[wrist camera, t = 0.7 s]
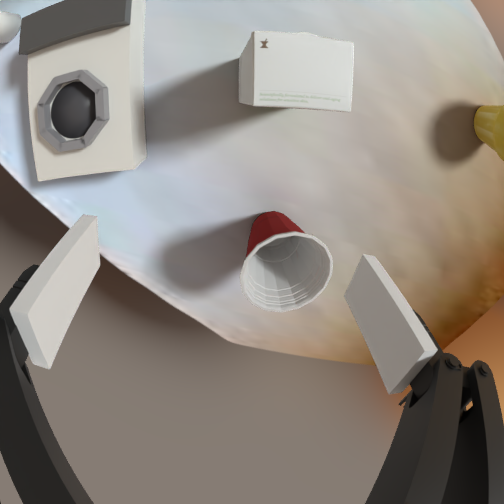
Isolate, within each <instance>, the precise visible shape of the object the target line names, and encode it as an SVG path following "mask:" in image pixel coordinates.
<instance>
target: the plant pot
mask: <svg viewBox="0 0 504 504" xmlns="http://www.w3.org/2000/svg"><path fill="white" fill-rule="evenodd" d="M474 129H475V132H476V135H477V137H478V138H479V139H480V140H481V141H483V142H484V143H486V144H487V145H488V146H489V147H491V148H492V149H493V150H495V151H496V152H497V154H498V155H499V157H500V158H501V159H502V160H503V161H504V105H503V106H481V107H480V108H479V109H478V110H477V111H476V114H475V117H474Z"/></svg>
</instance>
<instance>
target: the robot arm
mask: <svg viewBox="0 0 504 504" xmlns="http://www.w3.org/2000/svg"><path fill="white" fill-rule="evenodd" d="M99 267H100V258H99V244H98V224H97V216H92V215H84V214H83V215H82V216H81V217H80V218H79V220H78V221H77V222H76V223H75V224H74V225H73V226H72V227H71V229H70V230H69V231H68V232H67V233H66V234H65V235H64V237H63V238H62V239H61V240H60V242H59V243H58V244H57V245H56V246H55V248H54V249H53V250H52V251H51V252H50V254H49V255H48V256H47V257H46V259H45V260H44V261H43V263H42V264H41V265H40V266H38V265H32V266H31V267H29V268H28V269H26V270H25V271H24V272H23V273H22V274H21V276H20V277H19V278H18V281H16V282H15V284H14V285H13V288H11V289H10V291H9V292H8V294H7V295H6V296H5V298H4V299H3V300H2V302H1V303H0V451H1V454H2V456H3V459H4V462H5V464H6V467H7V469H8V472H9V474H10V476H11V479H12V481H13V483H14V485H15V487H16V490H17V492H18V494H19V496H20V498H21V500H22V502H23V504H94V503H93V502H92V501H91V499H90V497H89V496H88V494H87V493H86V491H85V490H84V488H83V487H82V485H81V483H80V482H79V480H78V479H77V477H76V475H75V473H74V472H73V470H72V468H71V466H70V465H69V463H68V461H67V459H66V457H65V456H64V454H63V452H62V450H61V448H60V446H59V444H58V442H57V440H56V438H55V436H54V434H53V431H52V429H51V427H50V425H49V423H48V421H47V418H46V416H45V413H44V411H43V409H42V406H41V404H40V402H39V399H38V396H37V393H36V391H35V388H34V385H33V382H32V380H31V377H30V374H29V370H28V367H27V365H26V363H25V361H26V359H27V356H28V354H29V356H30V358H31V360H32V362H33V364H35V365H38V366H41V367H44V368H47V369H50V368H51V365H52V363H53V361H54V358H55V356H56V354H57V351H58V349H59V346H60V344H61V342H62V340H63V338H64V335H65V333H66V331H67V329H68V327H69V325H70V322H71V320H72V318H73V316H74V314H75V312H76V310H77V308H78V306H79V304H80V302H81V300H82V298H83V296H84V294H85V292H86V290H87V289H88V287H89V285H90V283H91V281H92V279H93V277H94V276H95V274H96V272H97V270H98V268H99ZM344 297H345V299H346V301H347V303H348V305H349V307H350V309H351V311H352V313H353V315H354V317H355V320H356V322H357V324H358V326H359V328H360V330H361V332H362V335H363V337H364V339H365V341H366V343H367V345H368V348H369V350H370V352H371V354H372V357H373V359H374V361H375V363H376V366H377V368H378V370H379V373H380V375H381V377H382V379H383V382H384V384H385V387H386V389H387V391H388V394H394V393H400V392H403V391H404V389H405V388H406V387H407V386H408V385H409V384H410V385H411V387H412V390H411V391H410V392H409V393H408V394H407V396H405V397H404V399H403V400H402V401H401V402H400V403H399V405H400V406H401V405H402V404H403V403H404V402H406V403H405V406H404V410H403V413H402V416H401V419H400V422H399V425H398V428H397V431H396V433H395V436H394V439H393V442H392V444H391V447H390V450H389V452H388V454H387V457H386V460H385V462H384V464H383V467H382V469H381V471H380V473H379V476H378V478H377V480H376V482H375V484H374V487H373V489H372V491H371V493H370V495H369V497H368V499H367V501H366V503H365V504H504V424H503V419H502V413H501V408H500V403H499V399H498V394H497V390H496V386H495V382H494V378H493V374H492V372H491V369H490V368H489V366H488V365H487V364H486V363H485V362H482V361H479V360H477V361H475V362H474V363H473V364H472V366H471V367H470V368H469V367H464V366H462V364H461V362H460V361H459V360H458V359H457V357H455V356H454V355H452V354H449V353H443V351H442V350H441V348H440V346H439V345H438V343H437V341H436V340H435V338H434V337H433V335H432V334H431V332H429V331H430V330H429V329H428V327H427V326H425V325H426V324H425V323H424V321H423V320H422V318H421V317H420V316H419V315H418V314H417V313H416V312H415V311H414V310H413V309H412V308H411V307H410V305H409V304H408V302H407V301H406V299H405V298H404V296H403V295H402V294H401V292H400V291H399V289H398V288H397V286H396V285H395V283H394V282H393V281H392V279H391V278H390V276H389V275H388V274H387V272H386V271H385V269H384V268H383V267H382V265H381V264H380V263H379V261H378V260H377V259H376V257H375V256H371V255H364V254H363V255H362V258H361V260H360V262H359V264H358V267H357V269H356V271H355V273H354V276H353V278H352V280H351V282H350V284H349V286H348V289H347V291H346V293H345V295H344ZM471 401H472V403H473V406H472V407H471V408H470V409H469V410H466V406H467V405H468V404H469V402H471ZM0 504H1V503H0Z"/></svg>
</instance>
